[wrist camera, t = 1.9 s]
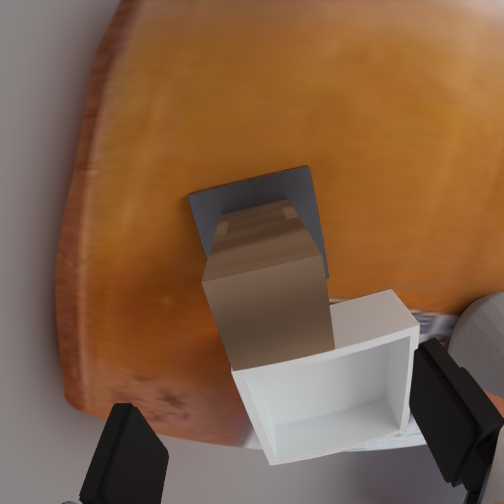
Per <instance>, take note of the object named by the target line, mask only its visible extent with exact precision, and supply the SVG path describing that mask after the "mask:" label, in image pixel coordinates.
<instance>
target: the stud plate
mask: <svg viewBox="0 0 504 504" xmlns="http://www.w3.org/2000/svg"><path fill="white" fill-rule="evenodd" d="M286 199H288V200H289V201H290V203H291V205H292V206H293V208H294V209H295V211H296V213H297V214H298V216H299V218H300V219H301V221H302V222H303V224H304V226H305V227H306V229H307V231H308V232H309V234H310V236H311V237H312V239H313V241H314V242H315V244H316V246H317V247H318V249H319V251H320V252H321V254H322V259H323V265H324V271H325V278H326V279H327V278H329V274H328V267H327V261H326V255H325V248H324V242H323V237H322V231H321V225H320V219H319V214H318V209H317V203H316V198H315V193H314V188H313V183H312V178H311V173H310V168H309V166H307V165H306V166H301V167H296V168H291V169H287V170H282V171H278V172H273V173H269V174H265V175H260V176H256V177H252V178H248V179H244V180H239V181H235V182H231V183H227V184H223V185H219V186H216V187H212V188H208V189H204V190H200V191H197V192H193V193H190V194H189V195H188V200H189V203H190V207H191V210H192V213H193V217H194V220H195V223H196V227H197V230H198V233H199V237H200V240H201V243H202V246H203V250H204V253H205V256H206V259H207V260H208V256H209V253H210V250H211V246H212V243H213V240H214V236H215V233H216V230H217V226H218V223H219V220H220V216H221V215H223V214H227V213H231V212H235V211H239V210H243V209H248V208H252V207H256V206H260V205H265V204H269V203H273V202H278V201H282V200H286Z"/></svg>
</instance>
